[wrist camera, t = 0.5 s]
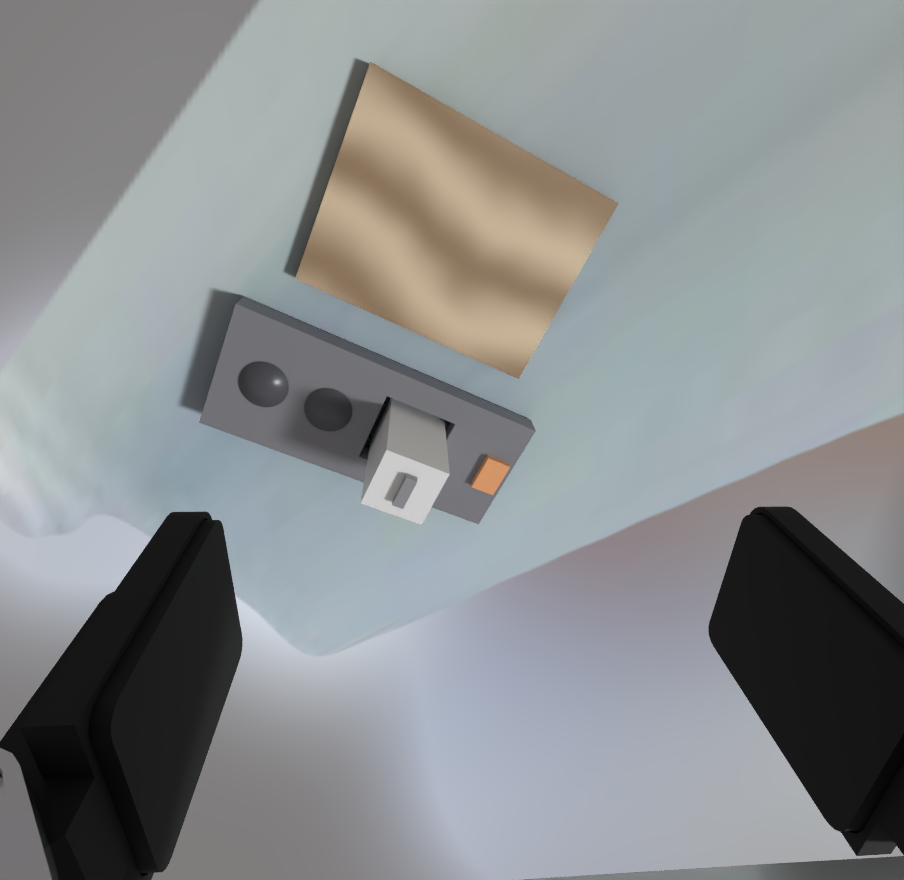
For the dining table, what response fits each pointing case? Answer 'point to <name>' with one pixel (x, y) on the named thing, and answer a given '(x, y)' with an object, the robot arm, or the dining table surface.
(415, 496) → the block
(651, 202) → the dining table surface
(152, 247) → the dining table surface
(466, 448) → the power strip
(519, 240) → the wooden board
